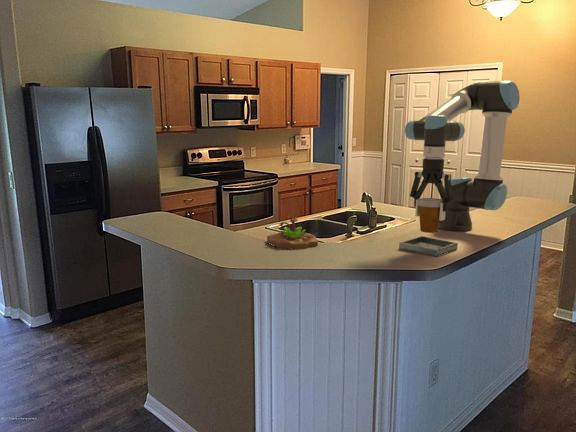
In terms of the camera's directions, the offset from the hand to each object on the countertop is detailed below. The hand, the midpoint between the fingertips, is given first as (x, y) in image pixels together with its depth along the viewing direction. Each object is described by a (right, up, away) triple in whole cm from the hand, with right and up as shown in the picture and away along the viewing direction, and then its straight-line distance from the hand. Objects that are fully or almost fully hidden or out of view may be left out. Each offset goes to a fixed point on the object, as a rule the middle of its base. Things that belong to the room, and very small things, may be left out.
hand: (429, 217), depth 181 cm
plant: (-51, -11, +13) cm, 54 cm away
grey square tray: (0, -12, +2) cm, 12 cm away
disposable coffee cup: (0, -5, +1) cm, 5 cm away
